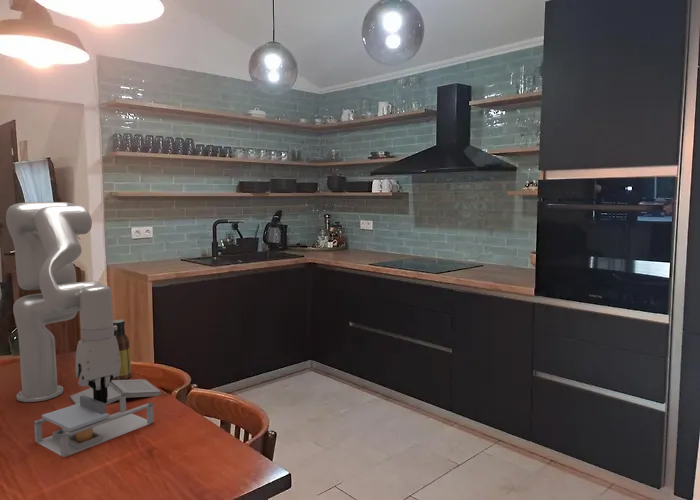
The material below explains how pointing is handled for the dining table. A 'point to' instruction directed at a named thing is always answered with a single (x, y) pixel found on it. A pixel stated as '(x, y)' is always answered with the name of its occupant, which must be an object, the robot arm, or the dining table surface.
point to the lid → (78, 414)
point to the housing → (95, 429)
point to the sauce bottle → (123, 350)
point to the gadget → (123, 390)
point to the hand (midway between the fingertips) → (100, 402)
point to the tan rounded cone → (84, 435)
